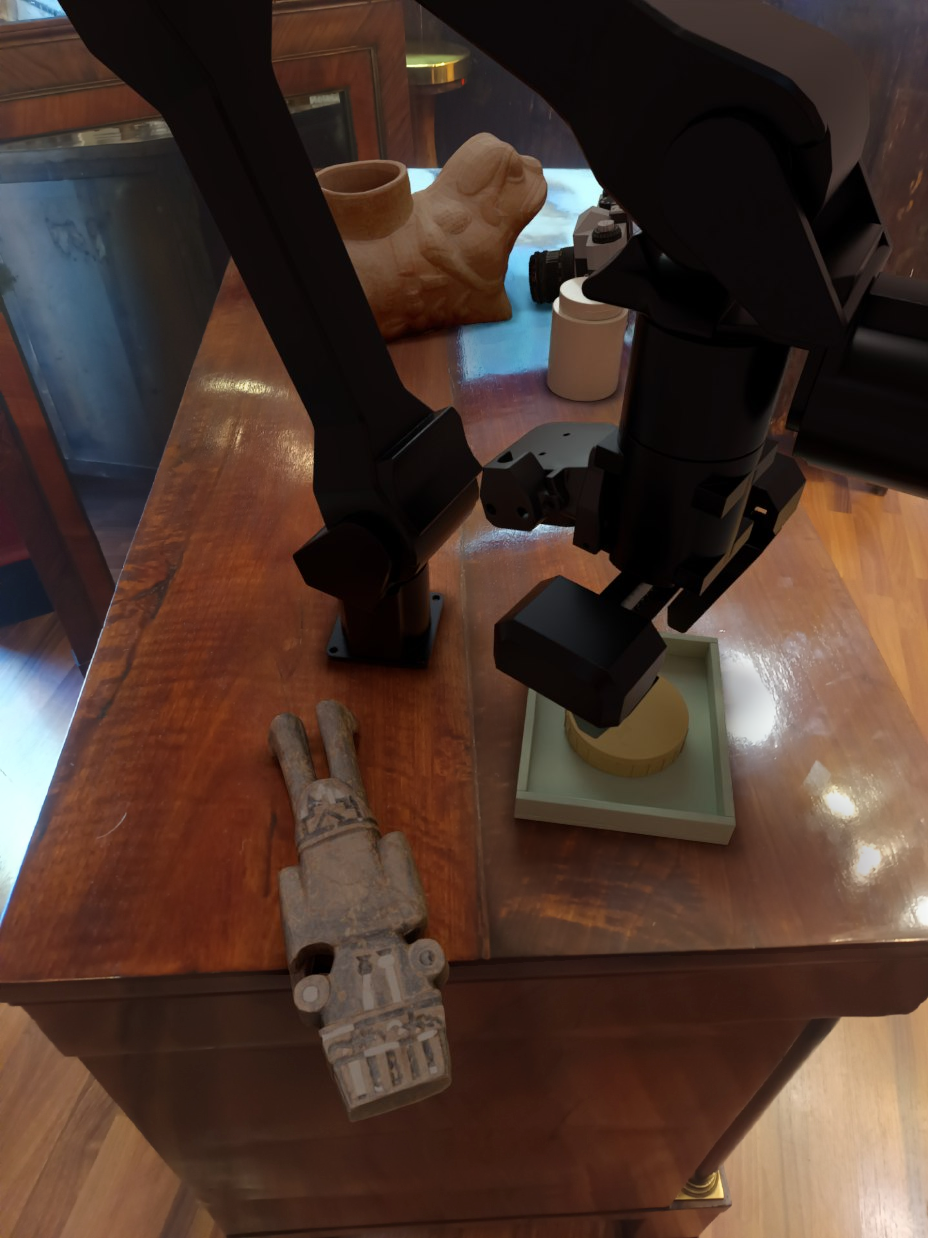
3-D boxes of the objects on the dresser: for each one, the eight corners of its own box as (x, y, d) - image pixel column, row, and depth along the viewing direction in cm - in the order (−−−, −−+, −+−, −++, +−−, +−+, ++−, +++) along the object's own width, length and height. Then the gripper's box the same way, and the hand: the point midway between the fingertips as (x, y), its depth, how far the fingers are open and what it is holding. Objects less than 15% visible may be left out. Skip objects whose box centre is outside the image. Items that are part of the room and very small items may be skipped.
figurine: (255, 774, 47) (325, 1163, 33) (233, 718, 43) (300, 1127, 29) (373, 739, 48) (487, 1099, 34) (360, 682, 45) (482, 1058, 31)
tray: (727, 845, 42) (736, 826, 41) (514, 818, 43) (515, 798, 42) (711, 658, 51) (718, 637, 50) (534, 639, 52) (536, 618, 51)
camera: (548, 280, 93) (537, 186, 86) (645, 270, 90) (641, 171, 83) (528, 340, 83) (514, 238, 76) (637, 331, 80) (632, 224, 73)
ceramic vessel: (566, 314, 84) (581, 152, 74) (317, 361, 77) (293, 190, 67) (511, 263, 93) (517, 112, 83) (284, 301, 86) (258, 142, 76)
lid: (604, 665, 50) (607, 646, 49) (705, 720, 47) (712, 701, 46) (540, 736, 46) (542, 717, 45) (646, 801, 43) (651, 783, 42)
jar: (616, 404, 72) (630, 309, 66) (544, 398, 73) (551, 304, 67) (617, 368, 76) (631, 276, 70) (549, 363, 77) (556, 271, 71)
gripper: (634, 288, 41) (598, 530, 52) (383, 455, 31) (405, 712, 42) (854, 355, 36) (763, 606, 47) (643, 579, 26) (590, 833, 37)
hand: (635, 677), depth 44 cm, fingers open, 9 cm apart
